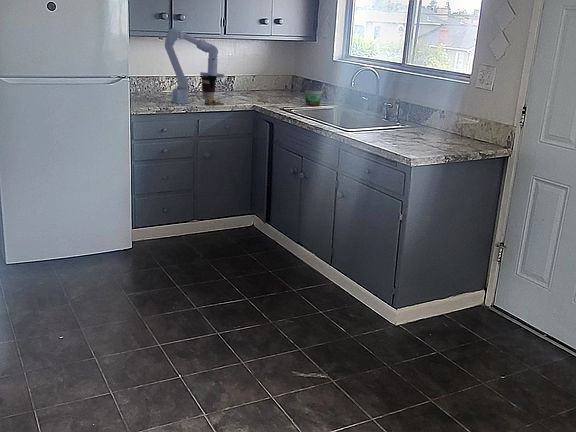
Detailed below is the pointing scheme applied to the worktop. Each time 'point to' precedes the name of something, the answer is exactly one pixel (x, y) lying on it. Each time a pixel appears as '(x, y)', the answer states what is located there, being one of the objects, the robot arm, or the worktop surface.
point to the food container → (313, 97)
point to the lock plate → (212, 103)
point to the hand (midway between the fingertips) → (211, 88)
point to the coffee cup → (207, 87)
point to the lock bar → (211, 99)
